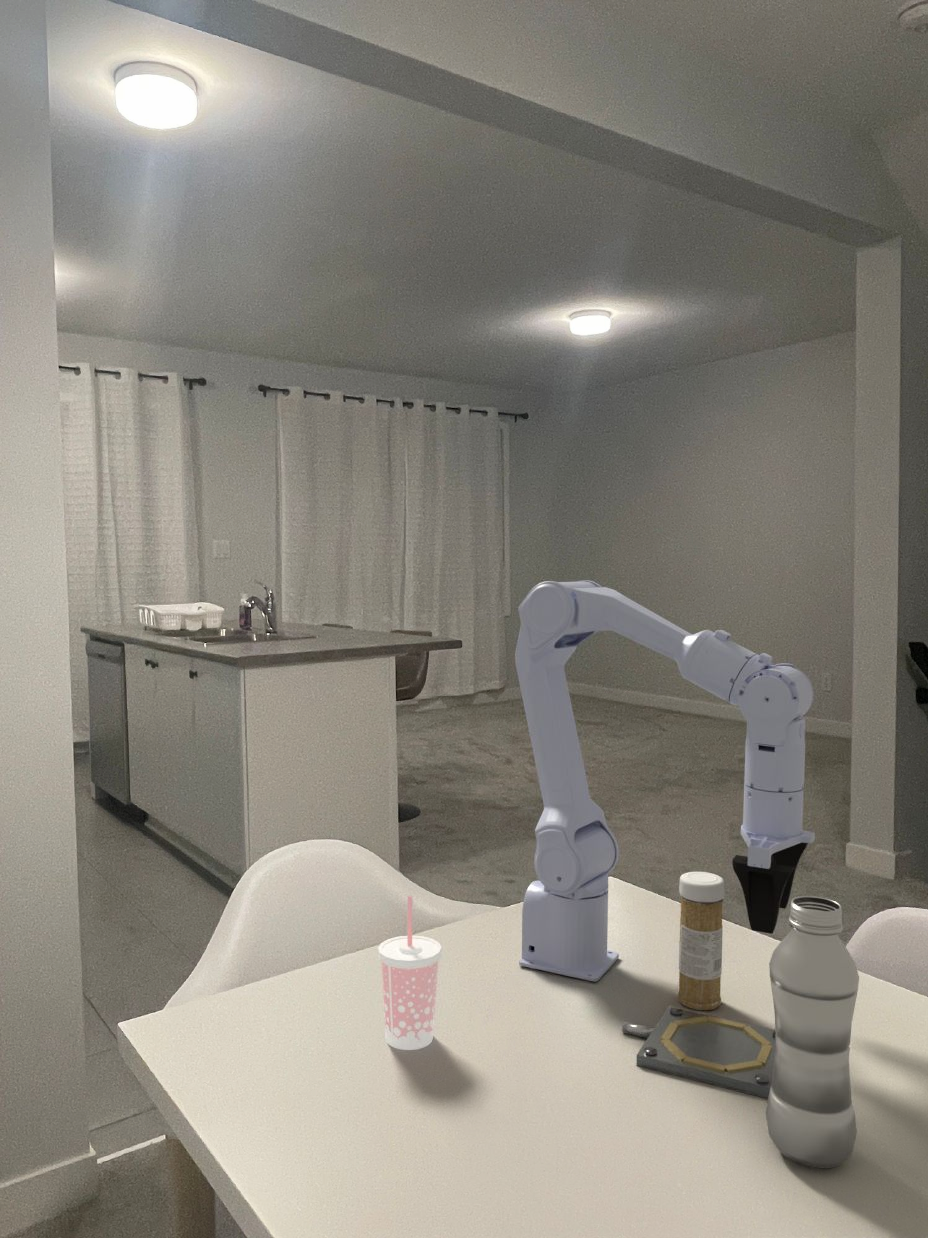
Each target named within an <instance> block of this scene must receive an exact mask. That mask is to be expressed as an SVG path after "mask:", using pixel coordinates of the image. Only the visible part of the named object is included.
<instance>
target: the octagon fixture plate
mask: <svg viewBox="0 0 928 1238" xmlns="http://www.w3.org/2000/svg"><path fill="white" fill-rule="evenodd" d="M621 1030H622V1031H621V1032H622V1033H624V1034H628V1035H632V1036H635V1037H636V1036H637V1037H640V1038H645V1039H646V1040H645V1041H644V1043H643V1044H642V1046H641V1047H640V1049H639V1050H638V1052H637V1053H636V1066H638V1067H642V1068H646V1069H650V1070H653V1071H656V1072H662V1073H665V1074H670V1075H673V1076H676V1077H681V1078H685V1079H689V1080H693V1081H697V1082H701V1083H705V1084H709V1085H713V1086H715V1087H716V1086H717V1087H721V1088H725V1089H728V1090H731V1091H732V1090H733V1091H736V1092H740V1093H744V1094H748V1095H752V1096H756V1097H759V1098H763V1099H766V1100H768V1096H769V1092H770V1088H771V1085H772V1078H773V1069H774V1060H775V1050H776V1038H775V1035H776V1031H775V1028H770V1027H765V1026H760V1025H755V1024H751V1023H747V1022H741V1021H738V1020H733V1019H728V1018H724V1017H720V1016H719V1017H718V1016H716V1015H710V1014H706V1013H701V1012H697V1011H693V1010H688V1009H683V1008H679V1007H674V1006H670V1005H669V1006H668V1007H667V1008H666V1010H665V1012H664V1013H663V1015H661V1018H660V1019H659V1020H658V1022H657V1024H656V1025H655V1027H653V1028H652V1027H649V1026H645V1025H640V1024H636V1023H632V1022H627V1021H624V1022H623V1023H622V1029H621Z"/></svg>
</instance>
